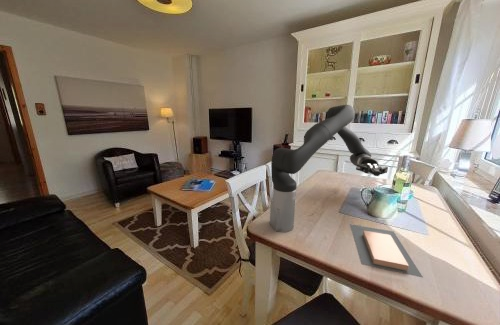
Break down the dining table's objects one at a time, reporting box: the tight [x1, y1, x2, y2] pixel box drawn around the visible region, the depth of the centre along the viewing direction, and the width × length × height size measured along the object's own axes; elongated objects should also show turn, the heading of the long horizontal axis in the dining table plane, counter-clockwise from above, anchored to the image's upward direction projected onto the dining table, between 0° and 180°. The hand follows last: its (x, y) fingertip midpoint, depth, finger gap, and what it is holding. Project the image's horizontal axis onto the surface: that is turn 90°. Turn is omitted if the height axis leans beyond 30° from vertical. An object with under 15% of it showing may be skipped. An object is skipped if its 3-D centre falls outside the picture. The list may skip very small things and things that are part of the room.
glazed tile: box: [363, 230, 409, 271], centre depth 68 cm, size 2×9×16 cm
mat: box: [349, 224, 424, 278], centre depth 71 cm, size 24×16×1 cm, turn 162°
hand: (377, 173), depth 80 cm, fingers closed
